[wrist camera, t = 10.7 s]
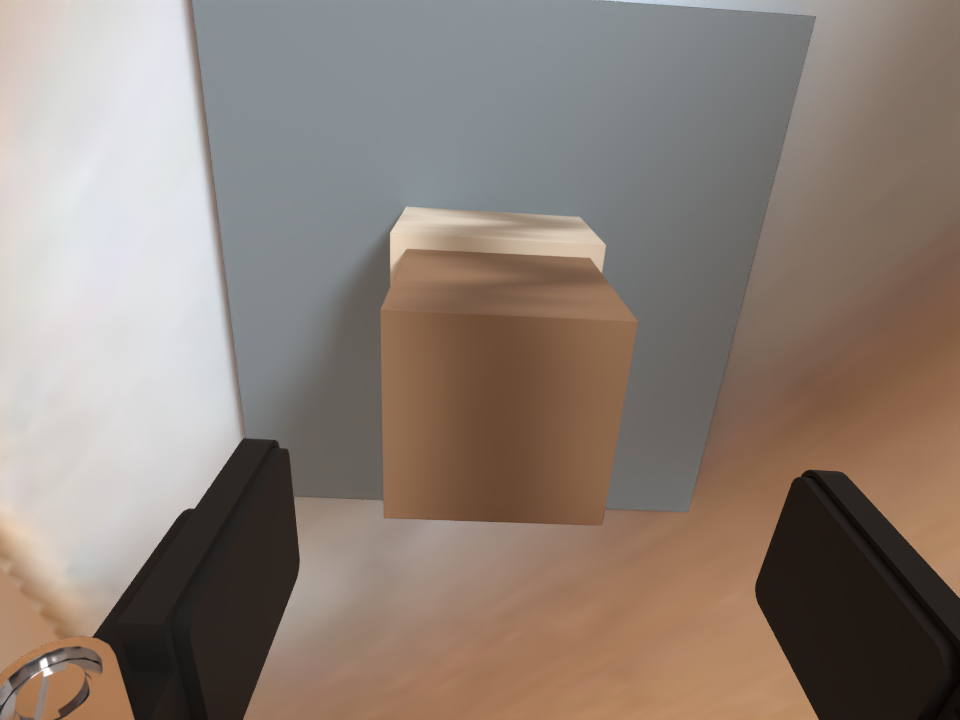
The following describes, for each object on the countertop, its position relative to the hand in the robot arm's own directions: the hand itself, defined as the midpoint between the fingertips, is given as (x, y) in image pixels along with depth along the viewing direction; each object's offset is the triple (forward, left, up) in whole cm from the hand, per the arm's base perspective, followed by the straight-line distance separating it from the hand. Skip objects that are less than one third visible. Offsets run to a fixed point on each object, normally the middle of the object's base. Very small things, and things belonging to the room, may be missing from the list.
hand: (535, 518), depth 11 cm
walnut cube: (0, 0, -10) cm, 10 cm away
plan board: (0, +1, -16) cm, 16 cm away
